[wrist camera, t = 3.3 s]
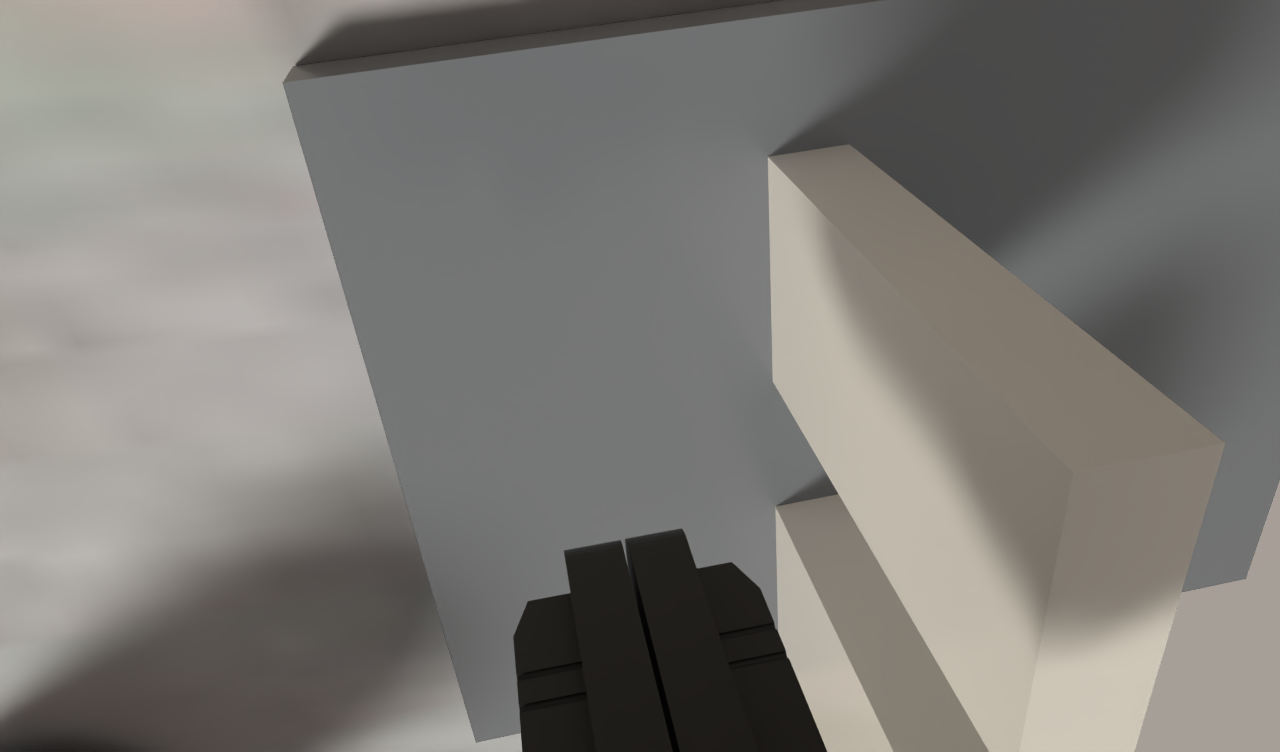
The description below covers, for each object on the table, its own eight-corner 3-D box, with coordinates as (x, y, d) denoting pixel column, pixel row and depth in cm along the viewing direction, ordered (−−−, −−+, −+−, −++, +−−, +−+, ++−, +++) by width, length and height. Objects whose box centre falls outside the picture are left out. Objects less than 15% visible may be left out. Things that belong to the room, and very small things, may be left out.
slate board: (293, 66, 16) (282, 82, 15) (1414, -85, 18) (1472, -81, 17) (474, 705, 25) (475, 742, 24) (1216, 550, 27) (1245, 578, 26)
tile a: (767, 156, 17) (1072, 473, 9) (859, 142, 18) (1244, 439, 9) (772, 381, 20) (1011, 791, 12) (852, 366, 20) (1145, 759, 12)
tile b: (775, 506, 22) (983, 938, 13) (848, 492, 22) (1099, 910, 14) (778, 652, 24) (954, 1090, 16) (843, 638, 25) (1051, 1065, 16)
